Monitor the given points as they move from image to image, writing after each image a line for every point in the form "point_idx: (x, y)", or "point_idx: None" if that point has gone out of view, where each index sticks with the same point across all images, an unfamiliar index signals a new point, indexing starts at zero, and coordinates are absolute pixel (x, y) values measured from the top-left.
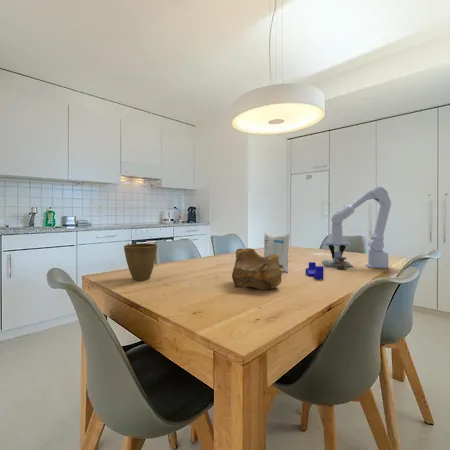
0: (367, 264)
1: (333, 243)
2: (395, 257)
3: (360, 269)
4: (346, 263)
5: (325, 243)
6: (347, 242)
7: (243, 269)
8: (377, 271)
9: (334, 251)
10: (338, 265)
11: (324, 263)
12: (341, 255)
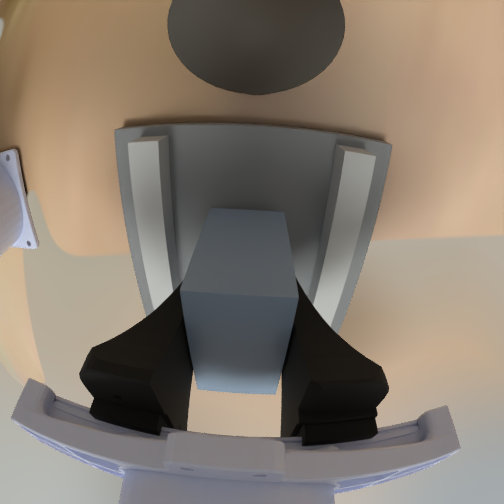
0: (28, 239)
1: (337, 464)
2: (15, 376)
3: (85, 55)
4: (163, 155)
5: (443, 440)
6: (61, 450)
7: None
8: (15, 33)
9: (281, 341)
10: (264, 126)
11: (369, 239)
12: None
